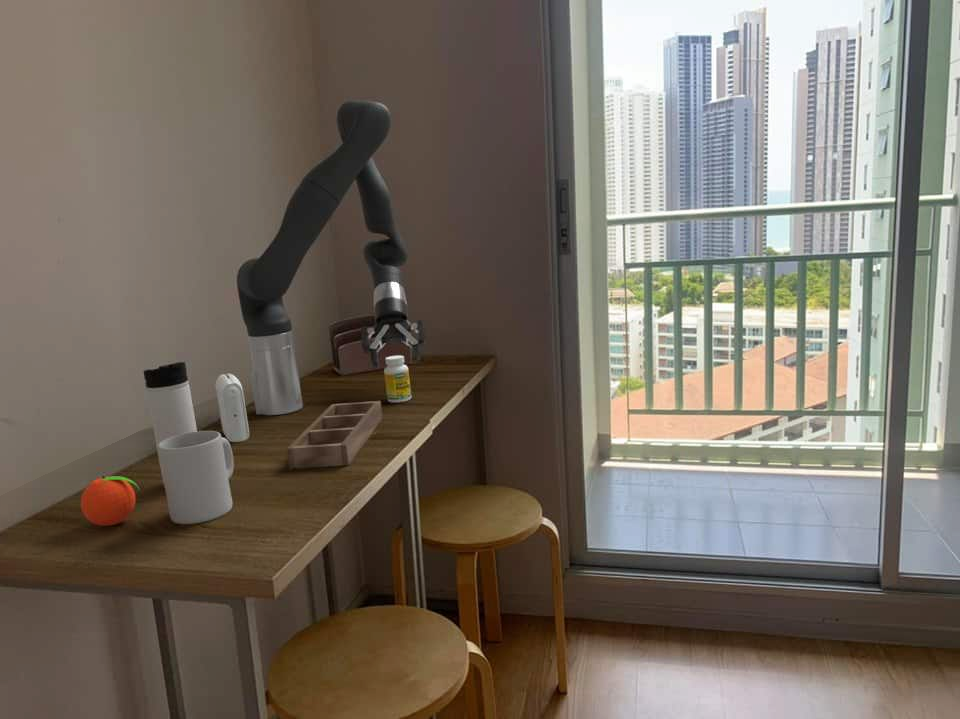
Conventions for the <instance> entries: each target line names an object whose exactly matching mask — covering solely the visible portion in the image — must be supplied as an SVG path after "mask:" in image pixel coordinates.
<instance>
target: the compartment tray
mask: <svg viewBox="0 0 960 719" xmlns="http://www.w3.org/2000/svg"><path fill="white" fill-rule="evenodd" d="M382 419H383V410H382V403H381V400H375V401H362V402H360V401H359V402H349V403H348V402H346V403H331V405H330V406H329V407H327V408H326V409H325V410H324V411H323V412H322V413H321V414H320V415H319V416H318V417H317V418H316V419H315V420H314V421H313V422H312V423H311V424H310V425H309V426H308V427H307V428H306V429H305V430H304V431H303V432H302V433H301V434H300V435H299V436H298V437H297V438H296V439H295V440H294V441H293V442H291V444H289V445H288V447H287V448H286V452H287V460H288V467H289V469H290V468H291V469H290V470H292V468H296V469H310V467H311V468H312V469H313V468H324V467H340V466H341V467H343V466H350V465H351V463H352V462H353V460H354V459H355V458H356V456H357V454H358V453H359V452H360V450H361V449H362V448H363V446H364V445H365V443H366V442H367V440H368V439H369V438H370V436H371V435H372V433H373V432H374V431H373V430H375V429H376V428H377V426H378V425H379V423H380V422H381V420H382Z"/></svg>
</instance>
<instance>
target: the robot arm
mask: <svg viewBox="0 0 960 719" xmlns="http://www.w3.org/2000/svg"><path fill="white" fill-rule="evenodd" d="M391 117H392V116H391V113H390V110H389V109H388V107H387V106H386V105H385V104H384V103H381V102H377V101H373V100H361V99H351V100H346V101H344V103H342V104H341V105H340V107H339V108H338V111H337V114H336V125H337V129H338V133H339V136H340V139H341V142H342V143H341V144H340V146H338V148H337V149H336V150H335V151H333V153H332V154H330V155H329V156H327V157H326V158H325V159H324V160H322V161H321V162H319V163H318V164H316V165H315V166H314V167H313V168H312V169H310V170H309V172H307V173H306V175H305V176H304V177H303V178H302V179H301V182H300V183H299V185H297V188H296V189H295V191H294V192H293V193H292V195H291V197H290V199H289V201H288V204H287V206H286V208H285V211H284V215H283V218H282V220H281V224H280V227H279V230H278V231H277V233H276V235H275V236H274V238H273V240H272V241H271V243H269V245H268V246H267V248H266V249H265V250H264V252H262V254H261V255H260V256H259V257H258V258H257V257H256V258H251V259H248V260H246V261H244V263H243V264H241V266H240V267H239V269H238V271H237V275H236V287H237V295H238V298H239V306H240V310H241V316H242V319H243V322H244V325H245V326H246V331H247V338H248V343H249V349H250V356H251V363H252V370H251V371H250V373H249V374H250V380H251V387H252V394H253V401H254V406H255V413H256V414H255V415H264V416H277V415H285V414H291V413H294V412H296V411H299V410H301V409H302V408H303V407H304V406H303V398H302V397H303V396H302V391H301V384H300V377H299V376H300V375H299V369H298V363H297V361H298V360H297V354H296V347H295V341H294V334H293V333H294V332H293V327H292V320H291V318H290V316H289V315H288V313H287V311H286V309H285V308H286V307H285V306H284V302H283V301H284V300H283V299H284V298H283V296H284V295H286V294H287V292H288V291H289V288H290V286H291V285H292V282H293V281H294V278H295V276H296V274H297V272H298V270H299V268H300V266H301V264H302V262H303V260H304V259H305V256H306V255H307V253H308V251H309V250H310V249H311V247H312V246H313V244H314V243H315V241H316V240H317V239H318V237H319V236H320V235H321V233H322V232H323V230H324V228H325V227H326V225H327V224H328V222H329V221H330V219H331V218H332V217H333V215H334V213H335V212H336V210H337V208H338V207H339V205H340V204H341V202H342V200H343V198H344V197H345V195H346V194H347V192H348V190H349V189H350V187H351V186H352V185H353V183H354V182H356V185H357V186H356V187H357V189H358V193H359V198H360V202H361V208H362V214H363V219H364V224H365V228H366V230H367V231H368V232H369V233H373V234H380V235H385V236H386V237H387V238H385V239H376V240H370V241H368V242H367V243H366V244H365V245H364V247H363V258H364V261H365V263H366V265H367V267H368V269H369V271H370V274H371V276H372V282H373V284H372V285H373V309H374V314H375V323H376V324H375V327H374V328H367V327H366V326H363V327H362V350H363V353H365V354H366V353H370V354H371V363H372V365H373V366H375V368H378V356H377V352H378V351H379V349H381V348H382V347H383V346H384V345H385V343H386V344H387V345H389V344H393V343H397V344H399V343H401V342H404V343H405V344H406V345H408V346H410V347H411V353H412V360H413V364H418V363H417V362H419V361H420V352H419V351H420V350H419V349H421V348H425V347H427V342H426V341H427V340H426V339H427V338H426V335H425V329H424V324H423V321H422V320H421V319H420V320H419V319H418V320H417V321H416V322H414V323H410V321H409V315H408V303H407V296H406V293H405V288H404V280H403V273H402V271H401V270H400V269H399V268H398V267H402V266H404V265H405V264H406V263H407V260H408V257H409V256H408V255H409V254H408V249H407V246H406V244H405V242H404V240H403V238H402V236H401V234H400V232H399V229H398V227H397V224H396V219H395V216H394V215H395V214H394V209H393V204H392V198H391V195H390V191H389V189H388V187H387V185H386V182H385V181H384V179H383V178H382V174H380V171H379V170H378V167H377V166H376V163H375V161H374V158H373V155H374V154H375V153H376V152H377V151H378V150H379V148H381V146H382V144H383V143H384V142H385V140H386V138H387V137H388V134H389V133H390V129H391V124H392V118H391ZM412 330H413V332H414V333H416V334H418V337H419V339H416V337H414V336H412V333H411V332H412ZM372 334H375V335H376V338H375V340H374V342H373V343H372V344H371V345H368V338H370V337H371V336H372Z"/></svg>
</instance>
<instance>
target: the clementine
mask: <svg viewBox="0 0 960 719" xmlns="http://www.w3.org/2000/svg"><path fill="white" fill-rule="evenodd" d="M130 483H131V484H132V485H134V486H135V487H136V488H137V489H138V490H139V491H141V489H140V488H139V486H138V484H137V483H136V482H134V481H133V480H132V479H129V478H127V477H125V476H120V475H118V476H117V475H116V476H115V475H108V476H104V475H103V476H101V477H99V478H97V479H95V480H92V482H91V483H89V484H88V485H87V487H86V488H85V489H84V491H83V492H82V494H81V499H80V508H81V511H82V514H83V515H84V517H85V518H86V519H87V520H88V521H89V522H90V523H93V524H94V525H97V526H100V527H110V526H115V525H118V524H120V523H122V522H124V521H125V520H126V519H128V517H129V516H131V514H132V512H133V510H134V508H135V505H136V494H135V491H134V488H133V486H132V485H131V484H130Z"/></svg>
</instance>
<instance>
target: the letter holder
mask: <svg viewBox="0 0 960 719" xmlns="http://www.w3.org/2000/svg"><path fill="white" fill-rule="evenodd" d="M375 324H376V323H375V313H374V314H362V315H357V316H352V317H348V318H343V319H340V320H336V321H335V320H334V321H333V322H330V324H329V325H328V333H329V341H330V342H329V343H330V349H331V358H332V365H333V369H334V370H333V371H335V372H337V374H339V375H340V376H348V375H349V376H350V375H354V374H360V373H365V372H366V373H368V372H371V371H372V372H373V371H378V370H379V371H380V370H384V369H385V368H386V367H388V365H386V358H387V357H390V356H404V363H403V365H406V366H410V365H413V364H414V361H413V352H412V348H411V347H410V346H408V345H406V344H405V343H404V342H401V343H399V344H397V343H393V344H389V345H387V344H386V343H385V345H384V346H383V347H382V348H381V349H379V351H378V352H377V356H378V368H375V366H373V365H372V363H371V354H370V353H366V354H365V353H363V350H362V327H363V326H366V327H367V328H374V327H375ZM375 338H376V335H375V334H372V336H371V337H370V338H368V345H371V344H372V343H373V342H374V340H375Z"/></svg>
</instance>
